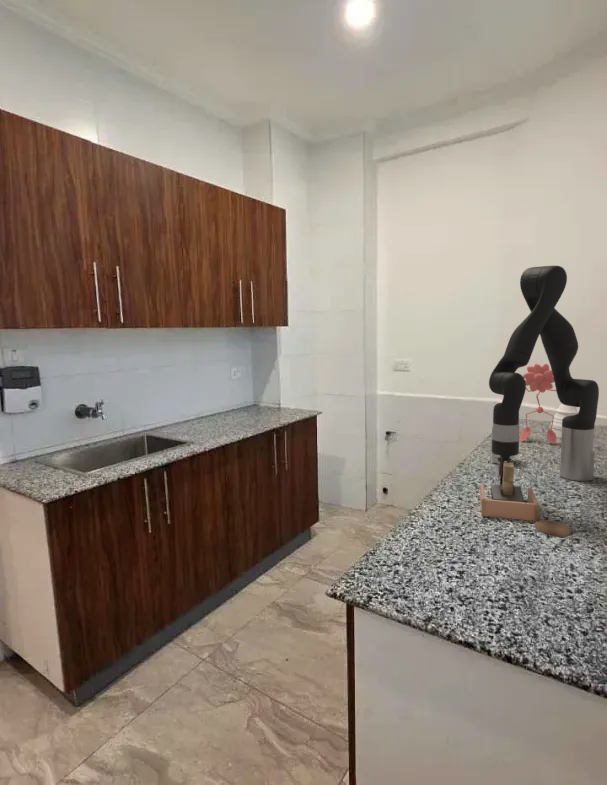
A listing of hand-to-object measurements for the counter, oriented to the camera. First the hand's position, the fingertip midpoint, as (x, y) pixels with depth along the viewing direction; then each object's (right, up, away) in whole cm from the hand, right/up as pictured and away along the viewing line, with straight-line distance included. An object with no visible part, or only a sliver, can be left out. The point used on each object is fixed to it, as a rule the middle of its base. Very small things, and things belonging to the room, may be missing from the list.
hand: (503, 493), depth 136 cm
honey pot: (+60, +11, +70) cm, 93 cm away
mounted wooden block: (-2, -1, -6) cm, 6 cm away
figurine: (+39, +8, +56) cm, 69 cm away
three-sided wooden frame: (-3, -2, -9) cm, 9 cm away
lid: (+3, -5, -22) cm, 23 cm away
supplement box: (+15, +4, +35) cm, 38 cm away
